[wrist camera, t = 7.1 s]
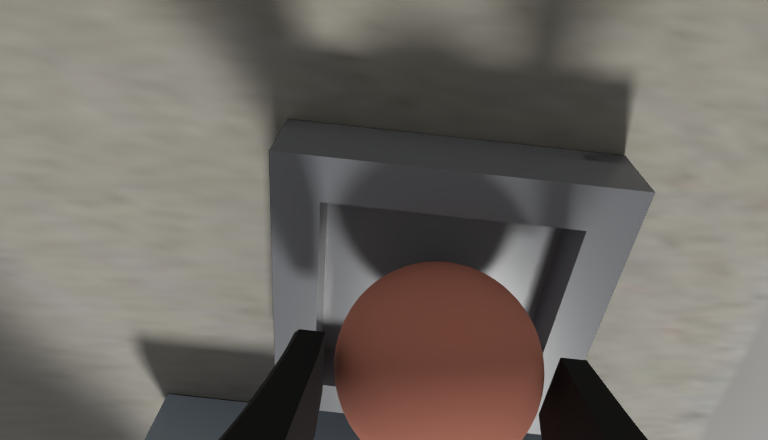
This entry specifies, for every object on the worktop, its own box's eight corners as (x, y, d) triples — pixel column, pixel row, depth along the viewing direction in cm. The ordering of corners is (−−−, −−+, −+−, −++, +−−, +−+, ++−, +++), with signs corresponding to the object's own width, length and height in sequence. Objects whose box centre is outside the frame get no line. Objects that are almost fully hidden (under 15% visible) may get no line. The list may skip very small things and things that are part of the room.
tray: (540, 385, 18) (552, 435, 16) (289, 358, 18) (276, 405, 16) (625, 155, 13) (655, 193, 12) (287, 119, 13) (268, 150, 12)
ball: (500, 365, 16) (535, 533, 12) (339, 352, 16) (318, 516, 12) (540, 231, 13) (605, 384, 9) (349, 214, 13) (325, 361, 9)
